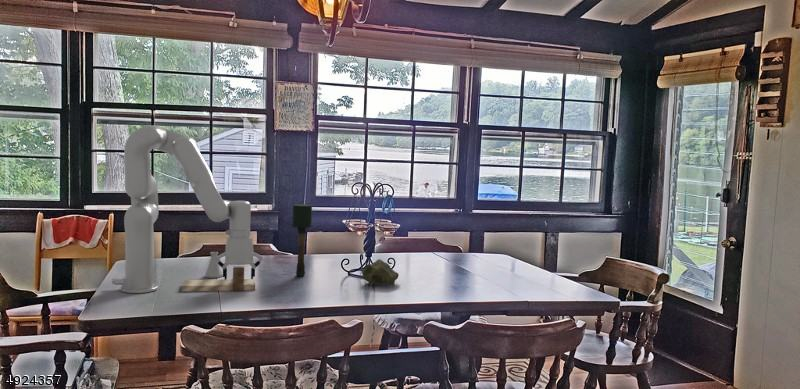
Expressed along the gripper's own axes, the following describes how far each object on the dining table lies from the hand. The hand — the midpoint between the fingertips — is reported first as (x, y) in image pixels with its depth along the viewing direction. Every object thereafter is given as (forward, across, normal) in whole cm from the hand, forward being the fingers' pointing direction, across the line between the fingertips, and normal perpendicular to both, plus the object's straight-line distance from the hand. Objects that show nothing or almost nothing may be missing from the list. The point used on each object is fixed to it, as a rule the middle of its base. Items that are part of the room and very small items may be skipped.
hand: (238, 278), depth 227 cm
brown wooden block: (+3, 0, +3) cm, 4 cm away
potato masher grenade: (+4, +25, +21) cm, 33 cm away
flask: (+4, -10, +22) cm, 25 cm away
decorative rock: (+4, +56, +3) cm, 56 cm away
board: (+4, -7, +2) cm, 8 cm away
